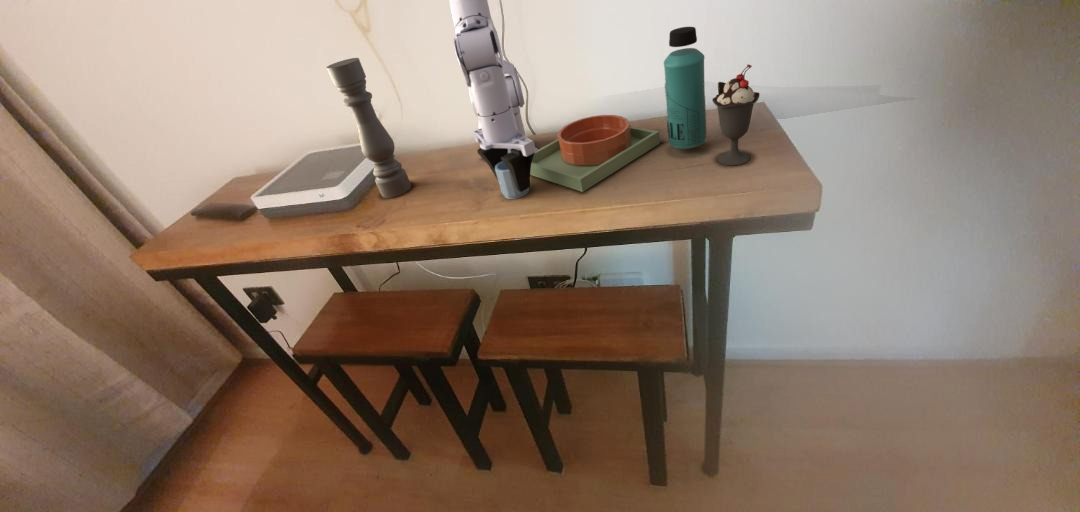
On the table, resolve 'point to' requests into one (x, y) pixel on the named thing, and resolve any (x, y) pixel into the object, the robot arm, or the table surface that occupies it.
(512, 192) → the pale blue cup
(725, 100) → the sundae
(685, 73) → the beverage bottle
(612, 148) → the big bowl
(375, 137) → the candle holder
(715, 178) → the table surface
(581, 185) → the tray
